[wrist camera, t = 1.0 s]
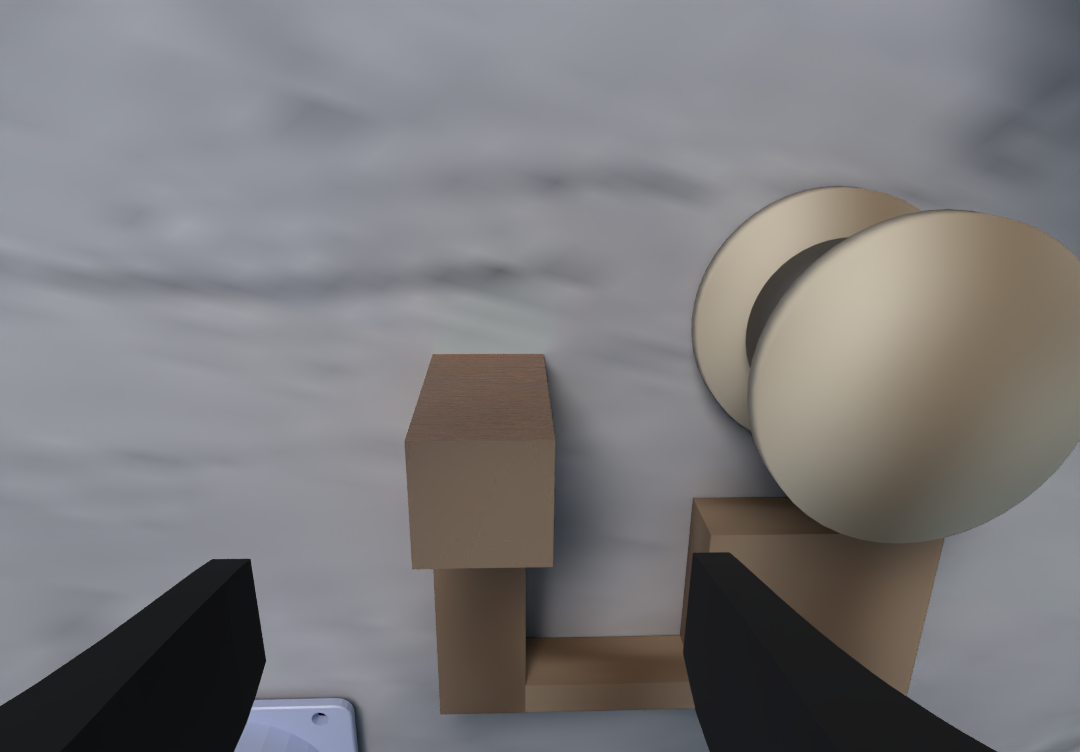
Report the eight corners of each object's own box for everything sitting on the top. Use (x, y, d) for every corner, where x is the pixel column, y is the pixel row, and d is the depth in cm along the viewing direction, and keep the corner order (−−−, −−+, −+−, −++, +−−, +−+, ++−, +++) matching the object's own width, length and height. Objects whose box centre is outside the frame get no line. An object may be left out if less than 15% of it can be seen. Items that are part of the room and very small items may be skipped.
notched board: (446, 665, 23) (440, 714, 21) (439, 500, 21) (432, 539, 19) (873, 656, 23) (905, 703, 22) (907, 495, 21) (945, 532, 19)
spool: (681, 437, 20) (740, 545, 15) (703, 185, 18) (782, 212, 13) (920, 435, 21) (1057, 541, 16) (973, 187, 18) (1156, 214, 13)
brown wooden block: (437, 454, 20) (412, 569, 15) (432, 354, 19) (404, 441, 14) (542, 453, 20) (553, 567, 15) (543, 354, 19) (555, 440, 14)
